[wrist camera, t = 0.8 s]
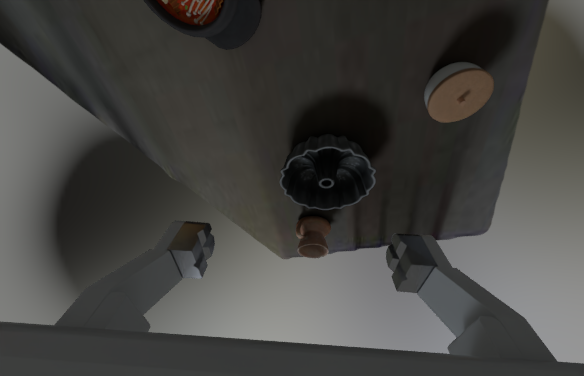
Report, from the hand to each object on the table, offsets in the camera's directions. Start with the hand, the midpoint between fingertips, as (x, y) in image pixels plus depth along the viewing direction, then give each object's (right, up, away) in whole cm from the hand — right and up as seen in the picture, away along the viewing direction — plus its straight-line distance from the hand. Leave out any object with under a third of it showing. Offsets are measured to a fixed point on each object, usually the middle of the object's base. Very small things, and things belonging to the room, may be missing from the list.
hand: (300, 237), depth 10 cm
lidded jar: (+33, +26, +38) cm, 56 cm away
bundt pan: (+10, +11, +58) cm, 60 cm away
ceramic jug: (+9, -12, +86) cm, 88 cm away
